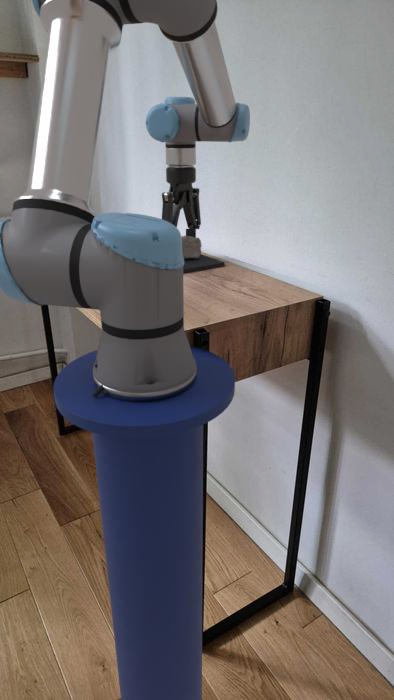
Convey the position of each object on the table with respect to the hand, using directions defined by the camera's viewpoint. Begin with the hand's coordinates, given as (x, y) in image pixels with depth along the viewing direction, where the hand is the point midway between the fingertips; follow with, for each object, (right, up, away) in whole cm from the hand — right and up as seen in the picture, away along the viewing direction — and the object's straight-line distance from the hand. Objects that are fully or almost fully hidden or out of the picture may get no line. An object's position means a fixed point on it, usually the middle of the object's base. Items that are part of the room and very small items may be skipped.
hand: (182, 256), depth 131 cm
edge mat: (0, -1, +1) cm, 2 cm away
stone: (0, 0, 0) cm, 1 cm away
